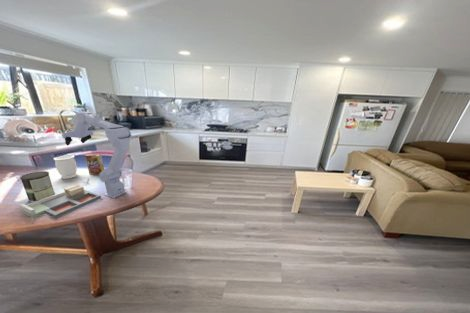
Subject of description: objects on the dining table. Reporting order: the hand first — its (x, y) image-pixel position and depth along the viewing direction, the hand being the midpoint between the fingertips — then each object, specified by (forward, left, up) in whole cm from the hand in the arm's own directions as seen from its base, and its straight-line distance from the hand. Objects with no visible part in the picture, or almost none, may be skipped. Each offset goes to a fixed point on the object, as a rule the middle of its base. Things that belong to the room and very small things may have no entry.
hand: (74, 143), depth 104 cm
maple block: (-12, +11, -27) cm, 31 cm away
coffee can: (+4, +19, -29) cm, 35 cm away
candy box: (+13, -15, -29) cm, 35 cm away
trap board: (-17, +18, -29) cm, 38 cm away
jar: (+24, -3, -29) cm, 38 cm away
